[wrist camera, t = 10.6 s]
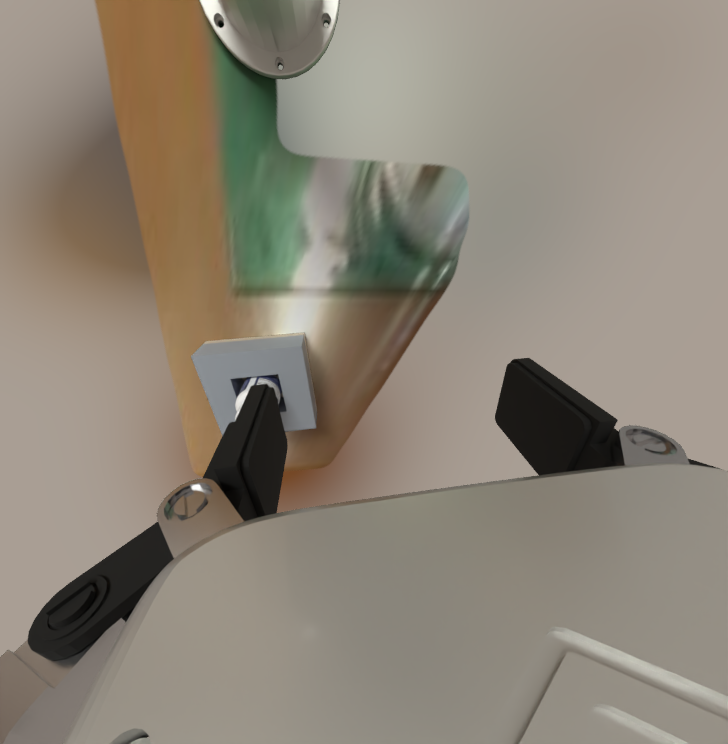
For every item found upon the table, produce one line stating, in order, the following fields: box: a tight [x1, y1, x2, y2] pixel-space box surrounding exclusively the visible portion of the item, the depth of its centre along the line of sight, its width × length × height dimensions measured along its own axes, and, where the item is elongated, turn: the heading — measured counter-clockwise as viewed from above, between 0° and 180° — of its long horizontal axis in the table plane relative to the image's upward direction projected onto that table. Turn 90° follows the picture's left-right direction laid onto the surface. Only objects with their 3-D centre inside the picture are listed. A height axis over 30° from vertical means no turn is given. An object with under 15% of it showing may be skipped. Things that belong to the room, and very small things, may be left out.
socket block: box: [191, 333, 317, 436], centre depth 42 cm, size 14×14×5 cm
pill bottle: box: [235, 374, 282, 421], centre depth 38 cm, size 5×5×10 cm
